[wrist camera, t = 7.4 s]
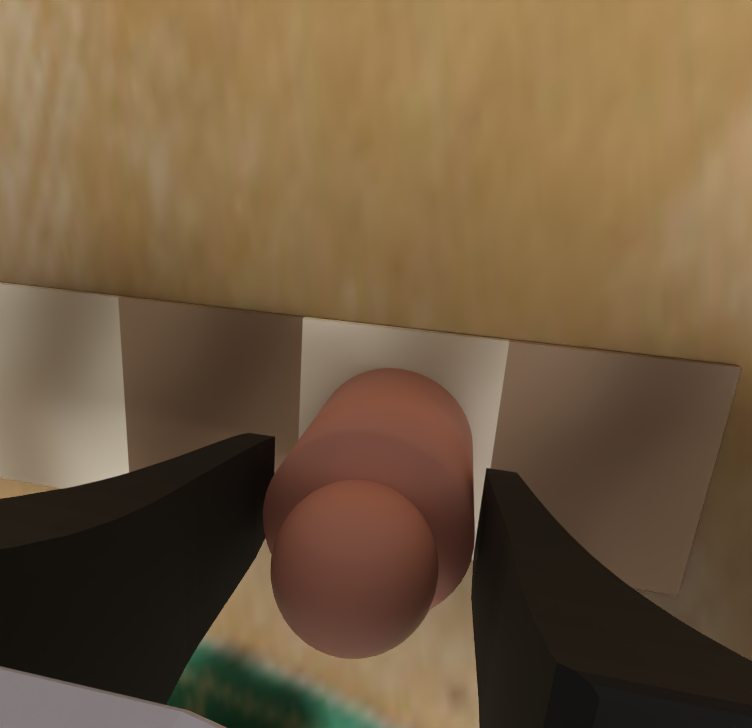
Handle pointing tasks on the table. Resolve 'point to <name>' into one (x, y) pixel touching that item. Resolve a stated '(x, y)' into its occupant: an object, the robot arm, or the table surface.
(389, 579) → the pawn
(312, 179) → the table surface
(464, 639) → the table surface
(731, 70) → the table surface
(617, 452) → the track board
